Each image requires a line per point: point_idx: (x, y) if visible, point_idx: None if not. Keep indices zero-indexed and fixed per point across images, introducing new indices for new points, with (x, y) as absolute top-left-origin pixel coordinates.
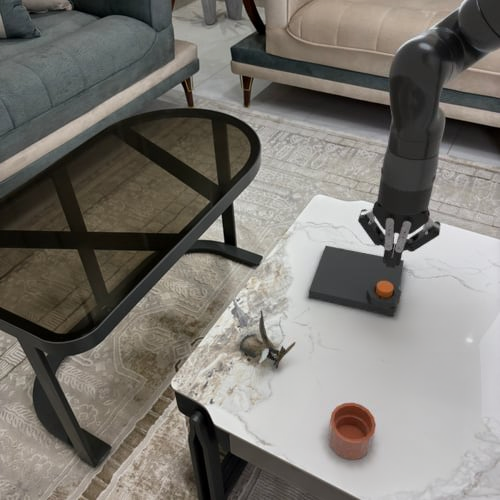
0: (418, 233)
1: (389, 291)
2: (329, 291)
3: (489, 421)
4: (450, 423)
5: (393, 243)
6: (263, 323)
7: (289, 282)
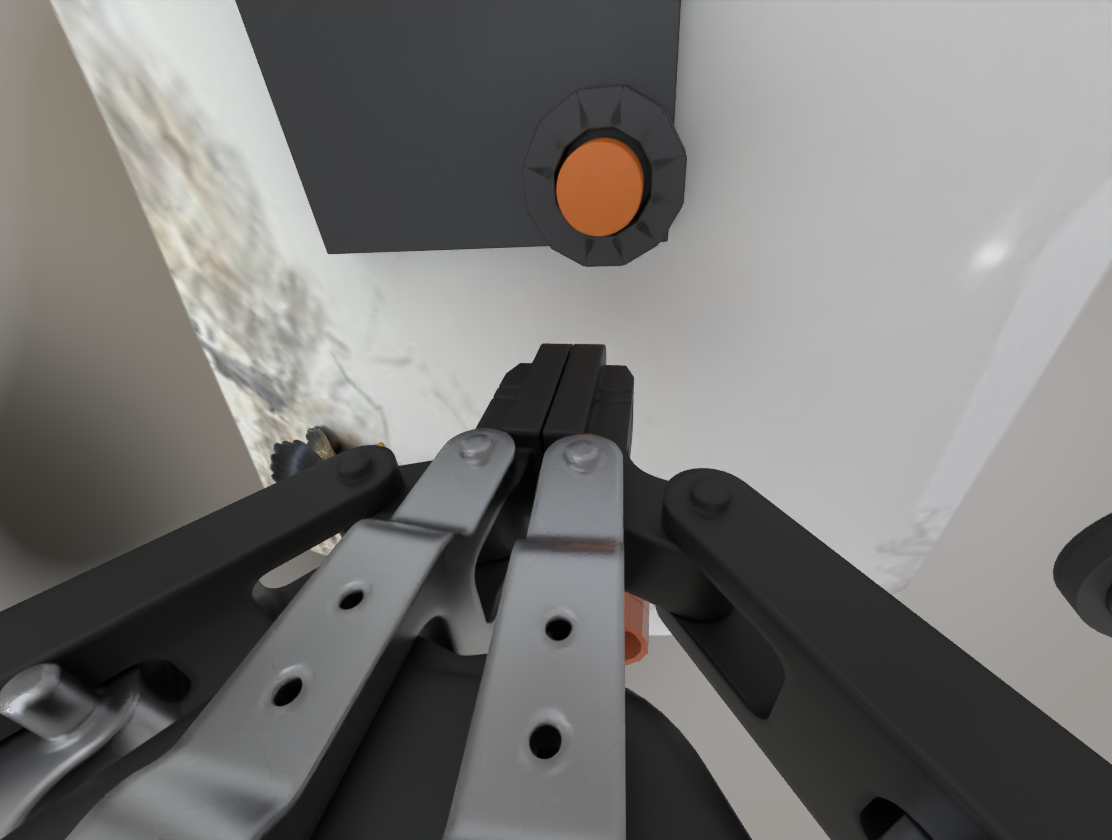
0: (780, 652)
1: (625, 224)
2: (392, 231)
3: (933, 517)
4: (823, 534)
5: (523, 512)
6: (310, 457)
7: (246, 186)
